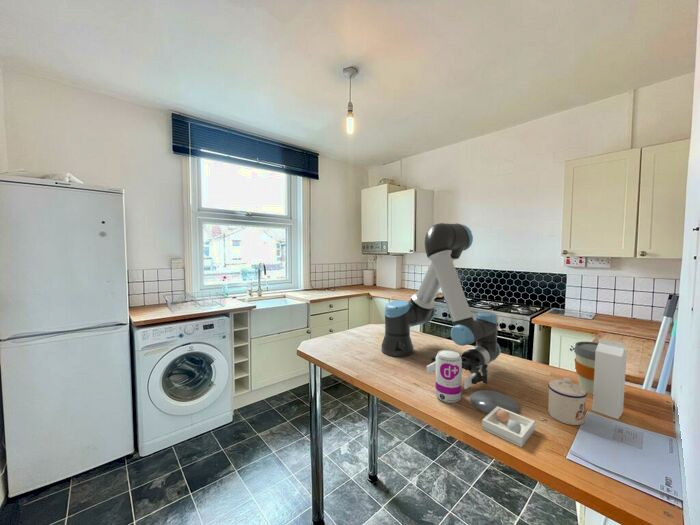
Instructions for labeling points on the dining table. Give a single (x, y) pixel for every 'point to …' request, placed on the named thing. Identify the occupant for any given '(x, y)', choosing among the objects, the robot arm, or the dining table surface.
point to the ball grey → (514, 426)
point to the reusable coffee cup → (585, 364)
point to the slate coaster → (493, 401)
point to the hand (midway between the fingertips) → (445, 376)
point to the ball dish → (501, 428)
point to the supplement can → (448, 376)
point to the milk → (609, 378)
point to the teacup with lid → (566, 401)
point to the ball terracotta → (503, 415)
